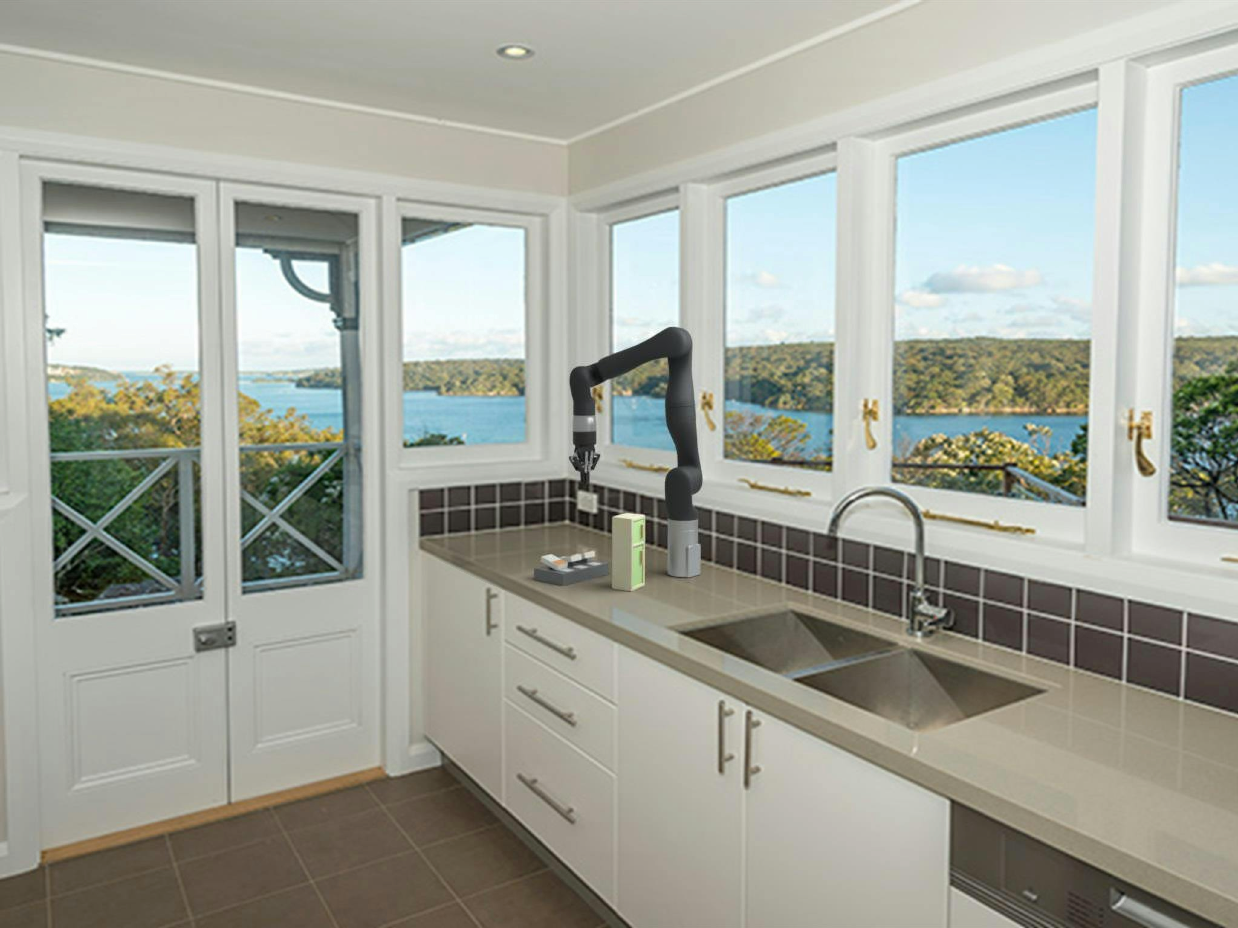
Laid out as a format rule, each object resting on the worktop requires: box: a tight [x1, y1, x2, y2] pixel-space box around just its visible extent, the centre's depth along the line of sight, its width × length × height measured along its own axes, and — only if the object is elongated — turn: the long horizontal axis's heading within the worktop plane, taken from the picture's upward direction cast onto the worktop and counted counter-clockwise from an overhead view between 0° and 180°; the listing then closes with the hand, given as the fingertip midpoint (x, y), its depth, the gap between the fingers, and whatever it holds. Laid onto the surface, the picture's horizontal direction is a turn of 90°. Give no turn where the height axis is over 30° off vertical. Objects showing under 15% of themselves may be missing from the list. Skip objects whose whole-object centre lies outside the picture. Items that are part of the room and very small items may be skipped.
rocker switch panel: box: [533, 558, 610, 587], centre depth 285 cm, size 12×24×4 cm, turn 139°
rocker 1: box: [540, 553, 568, 570], centre depth 280 cm, size 7×4×2 cm, turn 50°
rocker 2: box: [573, 550, 596, 559], centre depth 289 cm, size 7×4×2 cm, turn 49°
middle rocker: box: [559, 553, 582, 562], centre depth 284 cm, size 7×4×2 cm, turn 49°
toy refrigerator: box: [611, 512, 646, 592], centre depth 269 cm, size 8×7×21 cm
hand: (585, 484), depth 297 cm, fingers closed
